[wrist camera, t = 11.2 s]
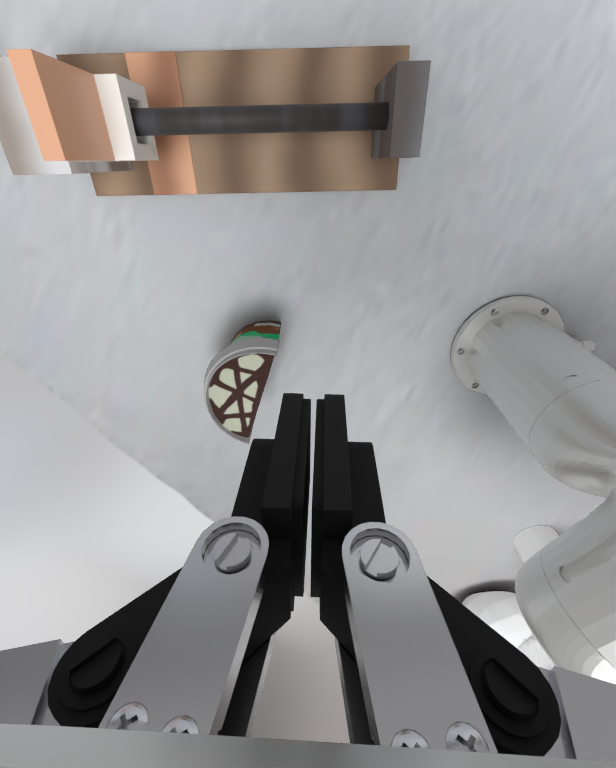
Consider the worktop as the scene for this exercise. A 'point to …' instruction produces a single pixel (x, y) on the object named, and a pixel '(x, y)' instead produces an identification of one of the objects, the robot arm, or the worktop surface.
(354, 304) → the worktop surface
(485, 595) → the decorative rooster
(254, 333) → the food container
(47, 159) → the sleeve
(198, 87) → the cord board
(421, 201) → the worktop surface
